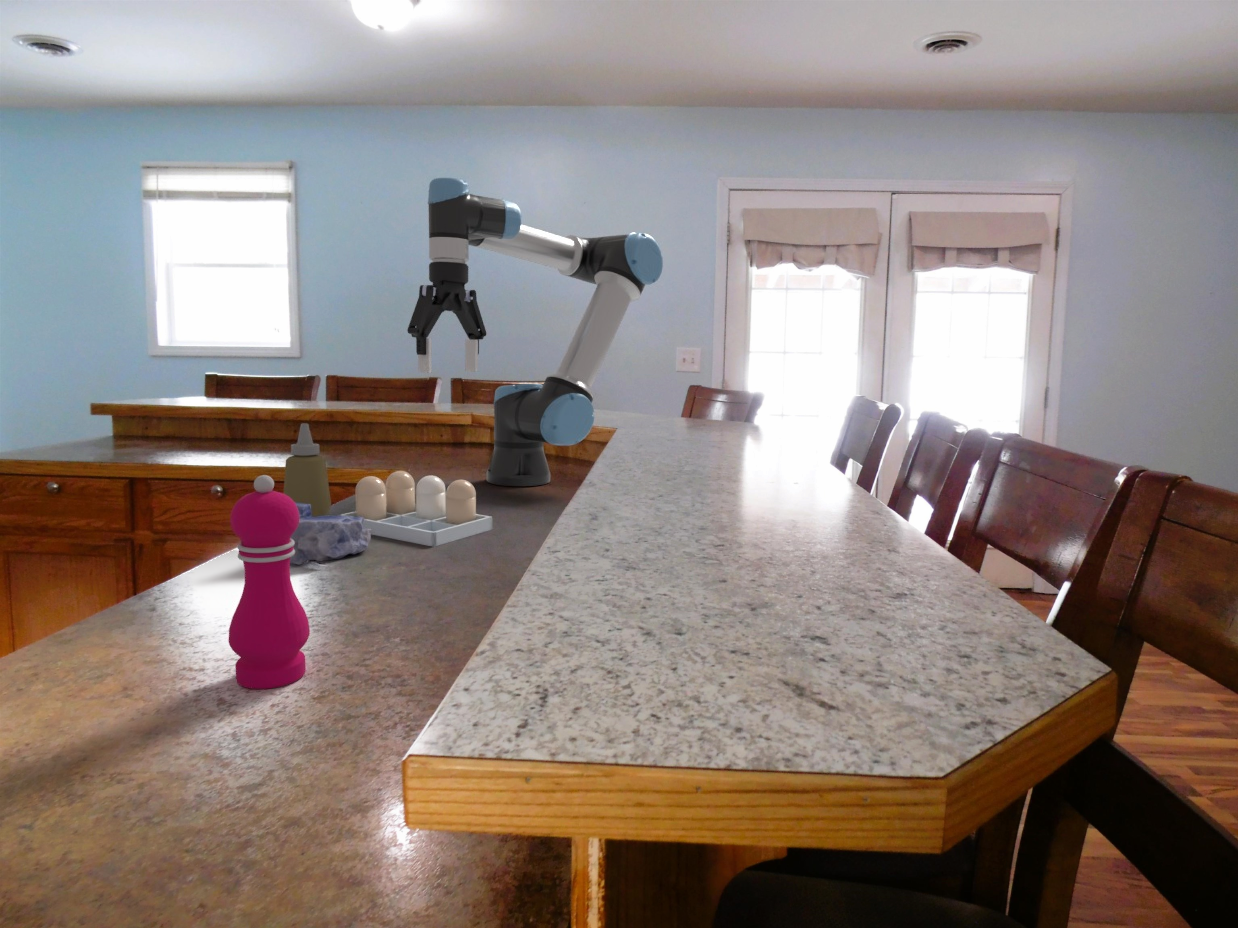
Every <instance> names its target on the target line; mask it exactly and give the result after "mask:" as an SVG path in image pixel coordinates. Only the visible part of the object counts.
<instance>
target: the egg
mask: <svg viewBox="0 0 1238 928" xmlns="http://www.w3.org/2000/svg"><path fill="white" fill-rule="evenodd" d="M446 491H447V488H446V484H445V482H444V481H443V480H442V478H439V477H438V476H437V475H432V474H431V475H430V474H429V475H426V476H423V477H422V478H421V479H420V480H419V481H418V483H417V485H416V487H415V504H416V518H421V519H426V520H435V519H439V518H443V517H446Z"/></svg>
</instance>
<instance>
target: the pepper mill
mask: <svg viewBox="0 0 1238 928" xmlns="http://www.w3.org/2000/svg"><path fill="white" fill-rule="evenodd" d="M274 487H275V481H274V479H273V478H272V477H271V476H270V475H266V474H263V475H259V476H257V477H256V478H255V479H254V481H253V488H254V490H255V491H253V492H250V493H248V494H245V495H243V496H242V497H240V498H239V499H238V500H237V501H236V502H235V504H234V506H233V507H232V509H231V513H230V516H229V517H230V520H229V521H230V527H231V530H232V532H233V533H234V534H235V535H236V536H237V537H238V538H239V539H240V541H241V542H239V543H238V544H237V545H236V547H237V550H238V554H237V558H238V559H239V560H241V561H242V563H243V569H244V584H243V590H242V593H241V596H240V599H239V601H238V604H237V606H236V609H235V611H234V613H233V615H232V618H231V622H230V625H229V629H228V644H229V647H230V648H231V651H233V653H235V654H236V655H237V656H238V657H239V658H238V659H237V660H236V662H235V681H236V683H237V684H238V685H240V687H243V688H246V689H252V690H269V689H275V688H281V687H284V686H288V685H290V684H293V683H295V682H297V681H298V680H300V679H301V678H303V677H304V675H305V674H306V671H307V670H306V667H307V666H306V656H305V653H304V652H303V651H302V650H301V649H303V647H304V646H305V645H306V644H307V641H308V640H309V637H310V632H311V631H310V623H309V622H310V621H309V619H308V616H307V614H306V611H305V608H304V607H303V605H302V604H301V602H300V600H299V599H298V596H297V595H296V592H295V591H294V588H293V584H292V581H291V570H290V568H291V563H290V557H291V556H293V555H294V554H295V550H294V547H293V546H294V544H295V542H294V540H293V539H291V535H292V534H293V533H294V532H295V530H296V529H297V527H298V525H299V511H298V508H297V506H296V504H295V502H294V501H293V500H292V499H291V498H290V497H289V496H287V495H285V494H283V493H284V492H280V491H275V490H273V489H274Z"/></svg>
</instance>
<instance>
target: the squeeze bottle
mask: <svg viewBox="0 0 1238 928" xmlns="http://www.w3.org/2000/svg"><path fill="white" fill-rule="evenodd" d="M290 453H291V456H289V457H287V458H286V459H285V466H284V480H283V481H284V483H283V492H282V493H283V494H285V495H287V496H289V497H290V498H291V499H292V500H293V501H294V502H295V503H302V504H310V505H311V516H312V517H318V516H325V515H326V516H329V513H330V510H331V507H332V501H331V494H330V484H329V480H328V479H329V477H328V469H327V463H326V458H324V457H323V456H322V455H319V454H321V453H320V444H319V443H314V441H313V437H312V434H311V430H310V425H309V423H300V427H299V431H298V436H297V442H296V443H293V444H292V443H291V445H290Z"/></svg>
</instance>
